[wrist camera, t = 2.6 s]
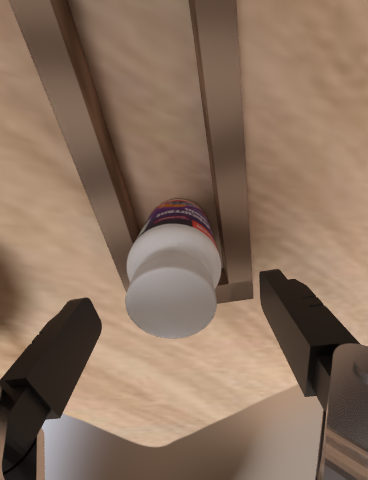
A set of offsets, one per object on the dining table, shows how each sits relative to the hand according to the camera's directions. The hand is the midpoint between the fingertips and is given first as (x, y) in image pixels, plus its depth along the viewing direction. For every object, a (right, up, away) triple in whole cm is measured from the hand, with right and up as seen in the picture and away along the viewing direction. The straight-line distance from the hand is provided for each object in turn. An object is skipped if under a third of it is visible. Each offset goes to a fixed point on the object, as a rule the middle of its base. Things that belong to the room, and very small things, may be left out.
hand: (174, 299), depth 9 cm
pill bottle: (0, +4, +8) cm, 9 cm away
